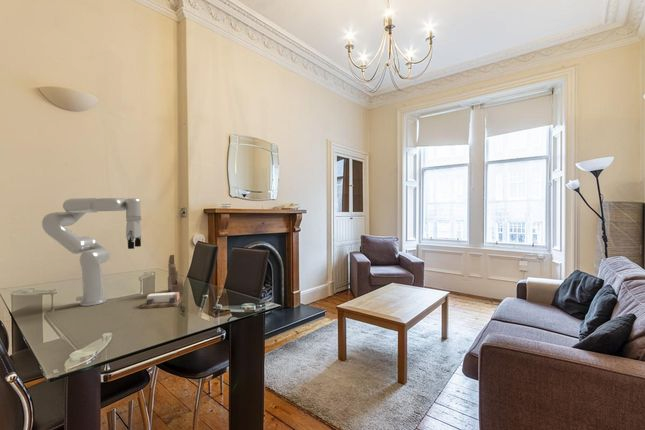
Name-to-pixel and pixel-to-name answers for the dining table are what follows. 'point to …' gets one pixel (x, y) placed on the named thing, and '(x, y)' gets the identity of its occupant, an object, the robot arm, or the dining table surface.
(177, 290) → the wooden toy
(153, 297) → the block
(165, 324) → the dining table surface
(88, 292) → the robot arm
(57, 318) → the dining table surface
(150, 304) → the brown fixture board
